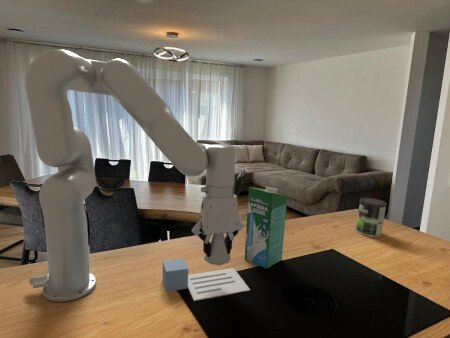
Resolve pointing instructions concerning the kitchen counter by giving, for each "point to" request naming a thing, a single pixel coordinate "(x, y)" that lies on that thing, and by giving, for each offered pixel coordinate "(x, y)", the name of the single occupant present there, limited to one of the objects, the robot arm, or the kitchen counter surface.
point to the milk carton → (265, 226)
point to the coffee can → (370, 217)
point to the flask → (218, 251)
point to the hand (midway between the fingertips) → (217, 252)
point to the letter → (215, 284)
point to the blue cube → (175, 274)
